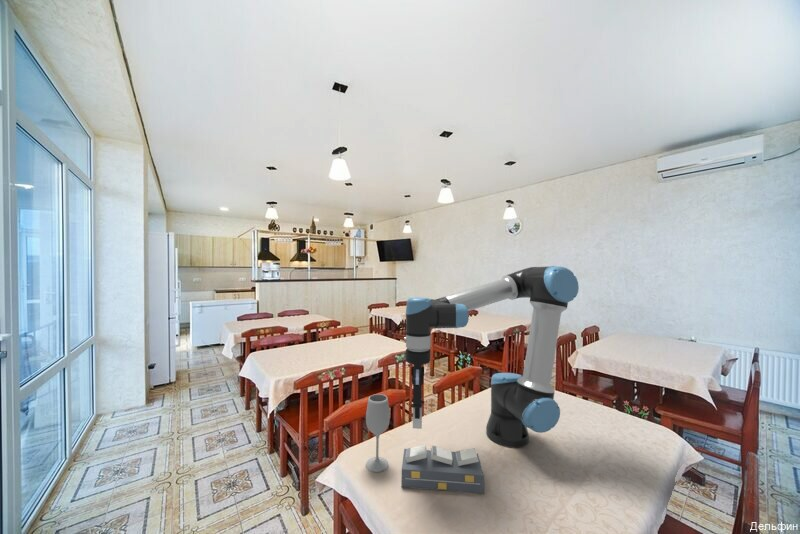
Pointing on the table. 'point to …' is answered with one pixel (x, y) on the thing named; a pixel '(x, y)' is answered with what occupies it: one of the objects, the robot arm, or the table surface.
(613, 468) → the table surface
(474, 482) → the console
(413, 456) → the rocker
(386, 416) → the wineglass
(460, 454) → the rocker
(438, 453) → the rocker
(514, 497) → the table surface
